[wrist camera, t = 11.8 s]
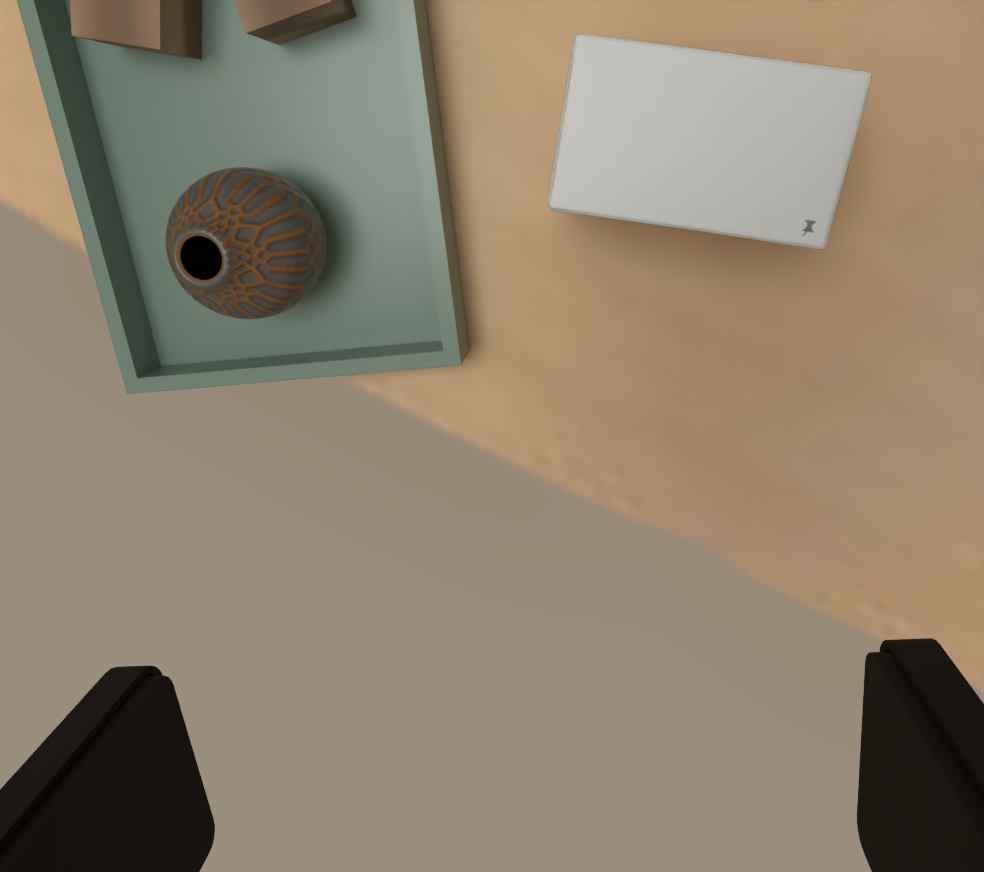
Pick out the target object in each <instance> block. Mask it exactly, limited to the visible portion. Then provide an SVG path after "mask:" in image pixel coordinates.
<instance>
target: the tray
mask: <svg viewBox="0 0 984 872" xmlns="http://www.w3.org/2000/svg"><path fill="white" fill-rule="evenodd" d="M17 3H18V6H19V10H20V13H21V17H22V21H23V24H24V28H25V31H26V35H27V38H28V42H29V46H30V49H31V53H32V56H33V60H34V63H35V67H36V71H37V74H38V78H39V81H40V85H41V88H42V92H43V95H44V99H45V103H46V106H47V110H48V113H49V117H50V120H51V124H52V128H53V131H54V135H55V138H56V142H57V145H58V149H59V153H60V156H61V160H62V163H63V167H64V170H65V174H66V178H67V181H68V185H69V188H70V192H71V195H72V199H73V203H74V206H75V210H76V213H77V217H78V220H79V224H80V227H81V231H82V235H83V238H84V242H85V245H86V249H87V252H88V256H89V260H90V263H91V267H92V270H93V274H94V277H95V281H96V285H97V288H98V292H99V295H100V299H101V302H102V306H103V310H104V313H105V317H106V320H107V324H108V327H109V331H110V334H111V338H112V342H113V345H114V349H115V352H116V356H117V359H118V363H119V367H120V370H121V374H122V377H123V381H124V384H125V388H126V392H127V394H133V393H145V392H155V391H156V392H157V391H168V390H179V389H191V388H203V387H215V386H227V385H237V384H250V383H260V382H273V381H284V380H296V379H308V378H319V377H331V376H343V375H354V374H366V373H378V372H389V371H401V370H413V369H424V368H436V367H447V366H459V365H461V364H462V363H463V361H464V359H465V357H466V355H467V353H468V351H469V342H468V334H467V326H466V318H465V310H464V302H463V294H462V286H461V278H460V270H459V262H458V255H457V247H456V239H455V231H454V223H453V215H452V207H451V199H450V191H449V183H448V175H447V167H446V159H445V151H444V143H443V135H442V128H441V120H440V112H439V104H438V96H437V88H436V80H435V72H434V64H433V56H432V48H431V40H430V32H429V24H428V16H427V8H426V1H425V0H352V3H353V7H354V10H355V13H356V16H357V17H355V18H353V19H350V20H347V21H344V22H342V23H339V24H336V25H333V26H331V27H328V28H325V29H322V30H320V31H317V32H314V33H311V34H309V35H306V36H303V37H300V38H298V39H295V40H292V41H289V42H287V43H284V44H281V45H277V44H274V43H272V42H269V41H266V40H263V39H261V38H258V37H255V36H252V35H249V34H247V33H246V32H245V30H244V27H243V24H242V21H241V18H240V15H239V13H238V10H237V7H236V4H235V1H234V0H202V60H200V59H194V58H188V57H181V56H175V55H168V54H162V53H156V52H149V51H143V50H136V49H130V48H124V47H119V46H114V45H110V44H106V43H101V42H97V41H93V40H88V39H84V38H80V37H75V36H72V32H71V7H70V0H17ZM235 167H248V168H257V169H262V170H267V171H270V172H273V173H275V174H278V175H280V176H282V177H284V178H285V179H287V180H289V181H290V182H292V183H293V184H295V185H296V186H297V187H298V188H300V189H301V190H302V191H303V192H304V193H305V194H306V195H307V196H308V198H309V199H310V200H311V202H312V203H313V204H314V206H315V208H316V209H317V211H318V213H319V215H320V217H321V220H322V222H323V225H324V229H325V234H326V244H327V250H326V259H325V264H324V267H323V270H322V273H321V275H320V277H319V279H318V281H317V283H316V285H315V286H314V288H313V289H312V290H311V291H310V293H309V294H308V295H307V296H306V297H305V298H304V299H303V300H301V301H300V302H299V303H298V304H296V305H295V306H293V307H292V308H290V309H288V310H286V311H284V312H282V313H280V314H277V315H274V316H271V317H267V318H261V319H239V318H233V317H229V316H225V315H222V314H219V313H216V312H214V311H212V310H210V309H208V308H206V307H204V306H203V305H201V304H200V303H198V302H197V301H196V300H194V299H193V298H192V297H191V296H190V295H189V294H188V293H187V292H186V291H185V290H184V289H183V287H182V286H181V285H180V283H179V282H178V280H177V279H176V277H175V275H174V273H173V271H172V269H171V266H170V264H169V261H168V257H167V252H166V244H165V236H166V227H167V223H168V219H169V216H170V213H171V211H172V209H173V207H174V205H175V204H176V202H177V200H178V199H179V198H180V196H181V195H182V194H183V193H184V192H185V191H186V190H187V189H188V188H189V187H190V186H191V185H192V184H194V183H195V182H196V181H198V180H199V179H201V178H202V177H204V176H206V175H208V174H210V173H213V172H215V171H219V170H222V169H227V168H235Z"/></svg>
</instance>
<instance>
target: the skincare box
mask: <svg viewBox="0 0 984 872" xmlns="http://www.w3.org/2000/svg"><path fill="white" fill-rule="evenodd" d="M871 77H872V76H871V74H870V72H865V71H860V70H853V69H846V68H839V67H832V66H825V65H818V64H810V63H803V62H796V61H788V60H780V59H773V58H765V57H757V56H749V55H742V54H735V53H728V52H721V51H713V50H706V49H698V48H690V47H683V46H675V45H667V44H660V43H652V42H645V41H637V40H630V39H622V38H614V37H607V36H599V35H591V34H577V35H576V37H575V40H574V43H573V49H572V54H571V59H570V65H569V71H568V77H567V84H566V90H565V97H564V103H563V109H562V116H561V122H560V128H559V135H558V141H557V147H556V154H555V160H554V167H553V173H552V180H551V186H550V193H549V200H548V204H549V207H550V210H551V211H554V212H563V213H572V214H580V215H588V216H595V217H603V218H610V219H617V220H624V221H631V222H638V223H645V224H652V225H659V226H666V227H673V228H680V229H687V230H694V231H701V232H707V233H714V234H720V235H727V236H734V237H740V238H746V239H753V240H759V241H765V242H772V243H778V244H785V245H791V246H798V247H805V248H811V249H823V248H824V247H825V246H826V244H827V240H828V237H829V233H830V229H831V226H832V223H833V219H834V215H835V211H836V208H837V204H838V201H839V197H840V193H841V190H842V186H843V182H844V179H845V175H846V171H847V168H848V164H849V160H850V157H851V153H852V150H853V146H854V143H855V139H856V135H857V132H858V128H859V125H860V121H861V117H862V114H863V110H864V106H865V102H866V98H867V94H868V90H869V86H870V82H871Z"/></svg>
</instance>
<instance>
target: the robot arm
mask: <svg viewBox="0 0 984 872" xmlns="http://www.w3.org/2000/svg"><path fill="white" fill-rule="evenodd" d="M857 825H858V832H859V837H860V841H861V845H862V848H863V851H864V854H865V856H866V859H867V861H868V863H869V866H870V868H871V871H872V872H984V704H983V702H982V701H981V700H980V698H979V697H978V695H977V694H976V693H975V691H974V690H973V689H972V687H971V686H970V685H969V683H968V682H967V681H966V679H965V678H964V676H963V675H962V674H961V672H960V671H959V670H958V668H957V667H956V666H955V664H954V663H953V662H952V660H951V659H950V658H949V656H948V655H947V653H946V652H945V651H944V649H943V648H942V647H941V645H940V644H939V643H938V642H937V641H936V640H934V639H931V638H930V639H901V640H885V641H883V642H882V644H881V647H880V652H872V653H871V652H870V653H868V654H867V657H866V662H865V678H864V696H863V715H862V733H861V751H860V770H859V789H858V807H857ZM214 833H215V826H214V819H213V816H212V813H211V809H210V806H209V803H208V800H207V796H206V793H205V789H204V786H203V782H202V779H201V776H200V773H199V769H198V766H197V763H196V759H195V756H194V752H193V749H192V746H191V743H190V739H189V736H188V732H187V729H186V725H185V722H184V719H183V716H182V712H181V709H180V705H179V702H178V699H177V695H176V692H175V689H174V685H173V683H172V681H171V680H170V678H169V677H166V676H163V675H162V673H161V671H160V670H159V669H158V668H156V667H154V666H132V667H131V666H129V667H115V668H111V669H110V670H109V671H108V672H106V673H105V675H103V677H102V678H101V679H100V680H99V681H98V682H97V683H96V684H95V686H93V688H92V689H91V690H90V691H89V692H88V693H87V694H86V695H85V696H84V698H83V699H82V700H81V701H80V702H79V703H78V704H77V705H76V706H75V708H74V709H73V710H72V711H71V712H70V713H69V714H68V715H67V716H66V718H65V719H64V720H63V721H62V722H61V723H60V724H59V725H58V726H57V728H56V729H55V730H54V731H53V732H52V733H51V734H50V735H49V736H48V737H47V739H46V740H45V741H44V742H43V743H42V744H41V745H40V746H39V747H38V748H37V750H36V751H35V752H34V753H33V754H32V755H31V756H30V757H29V758H28V760H27V761H26V762H25V763H24V764H23V765H22V766H21V767H20V769H19V770H18V771H17V772H16V773H15V774H14V775H13V776H12V777H11V778H10V779H9V781H8V782H7V783H6V784H5V785H4V786H3V787H2V788H1V790H0V872H199V871H200V869H201V868H202V865H203V864H204V862H205V860H206V858H207V856H208V854H209V852H210V850H211V847H212V844H213V840H214Z"/></svg>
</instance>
